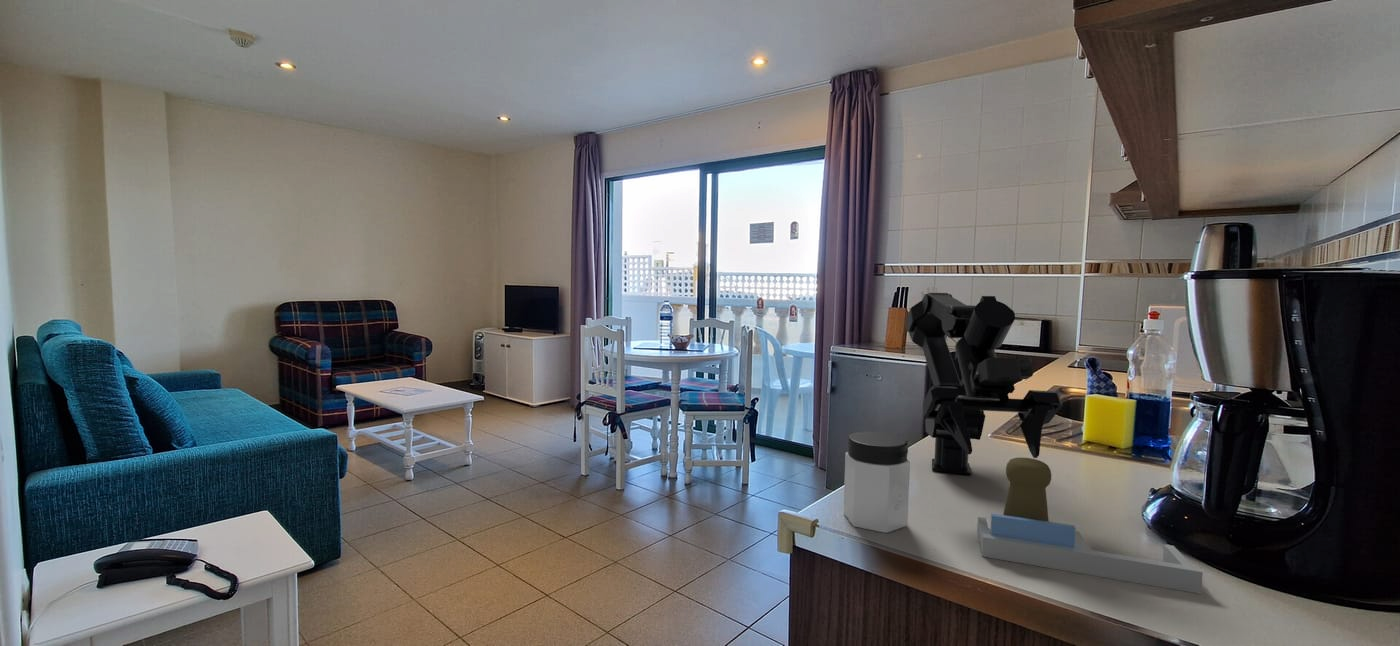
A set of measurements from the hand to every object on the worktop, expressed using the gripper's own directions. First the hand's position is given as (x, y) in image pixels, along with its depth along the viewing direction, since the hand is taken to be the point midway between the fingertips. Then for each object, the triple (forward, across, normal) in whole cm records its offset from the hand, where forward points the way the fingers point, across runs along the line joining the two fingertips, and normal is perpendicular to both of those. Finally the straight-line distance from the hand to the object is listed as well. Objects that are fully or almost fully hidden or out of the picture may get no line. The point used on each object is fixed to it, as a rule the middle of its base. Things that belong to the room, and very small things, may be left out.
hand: (1003, 454), depth 83 cm
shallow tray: (+15, +5, -2) cm, 15 cm away
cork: (+12, 0, +1) cm, 12 cm away
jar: (+9, -18, +5) cm, 21 cm away
